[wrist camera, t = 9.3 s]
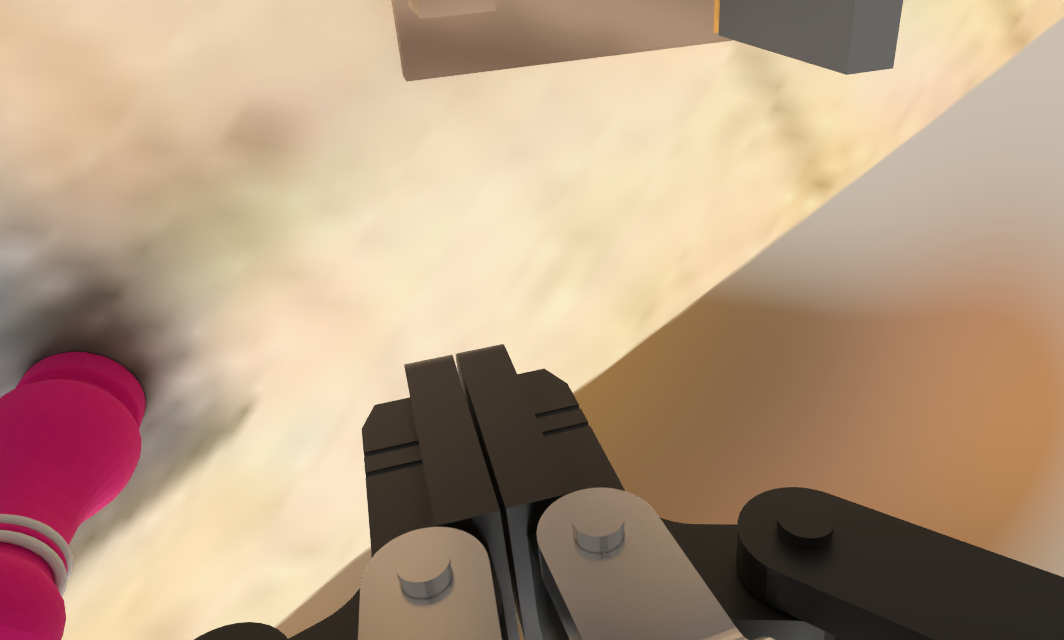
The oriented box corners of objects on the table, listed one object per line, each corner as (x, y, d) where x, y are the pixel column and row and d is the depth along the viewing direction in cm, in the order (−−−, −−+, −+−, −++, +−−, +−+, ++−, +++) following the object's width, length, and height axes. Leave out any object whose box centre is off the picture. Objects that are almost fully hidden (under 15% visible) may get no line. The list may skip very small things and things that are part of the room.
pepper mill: (93, 474, 44) (-50, 826, 27) (-24, 400, 41) (-274, 753, 24) (184, 398, 44) (96, 712, 26) (72, 316, 40) (-114, 619, 23)
